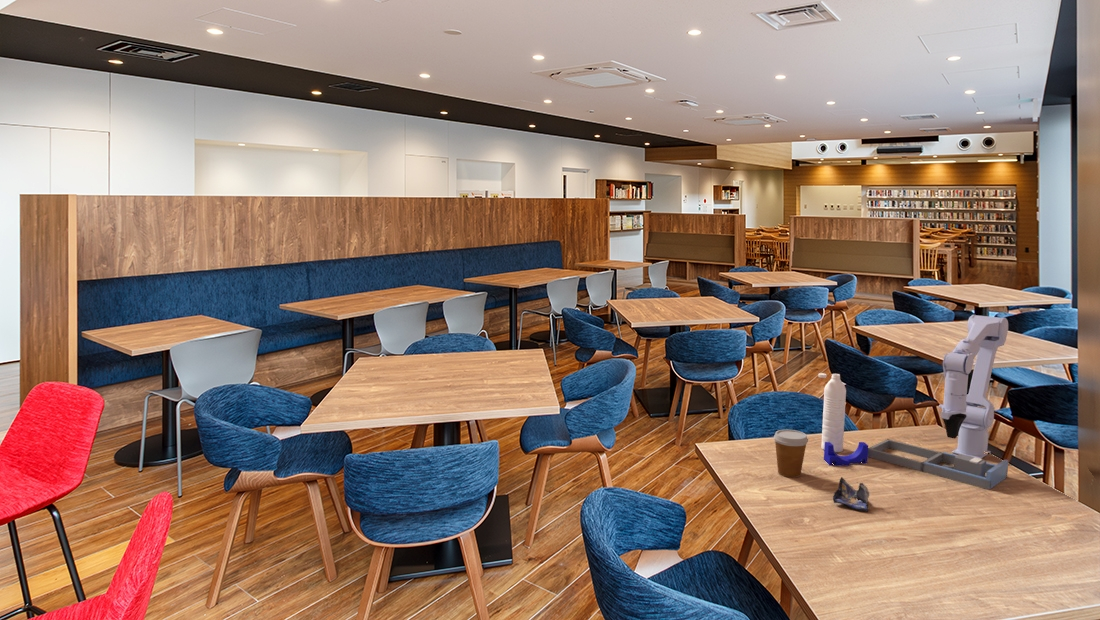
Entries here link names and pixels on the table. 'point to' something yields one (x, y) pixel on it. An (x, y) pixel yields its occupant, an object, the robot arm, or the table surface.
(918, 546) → the table surface
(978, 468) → the cord plug
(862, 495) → the snack package
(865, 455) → the blue pipe cradle
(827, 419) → the water bottle
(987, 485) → the grey divided rectangular frame
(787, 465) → the disposable coffee cup
